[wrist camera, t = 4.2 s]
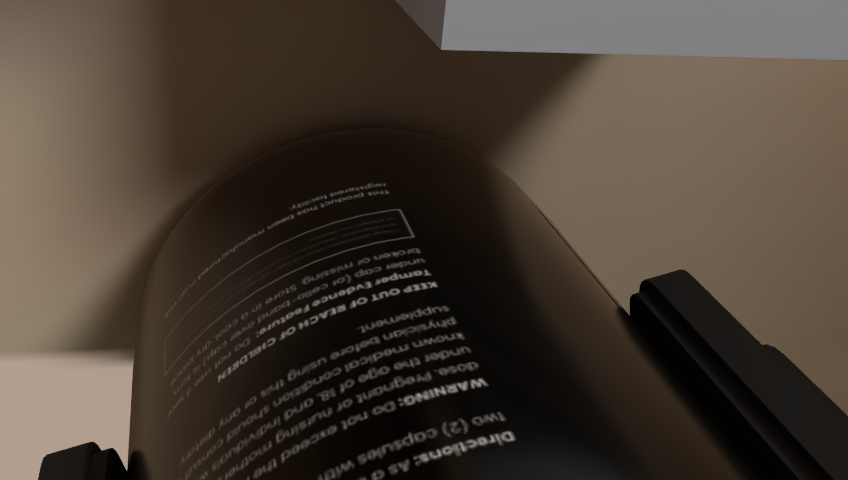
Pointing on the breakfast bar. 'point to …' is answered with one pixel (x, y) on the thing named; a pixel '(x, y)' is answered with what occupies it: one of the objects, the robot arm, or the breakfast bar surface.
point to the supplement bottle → (397, 334)
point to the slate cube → (639, 26)
